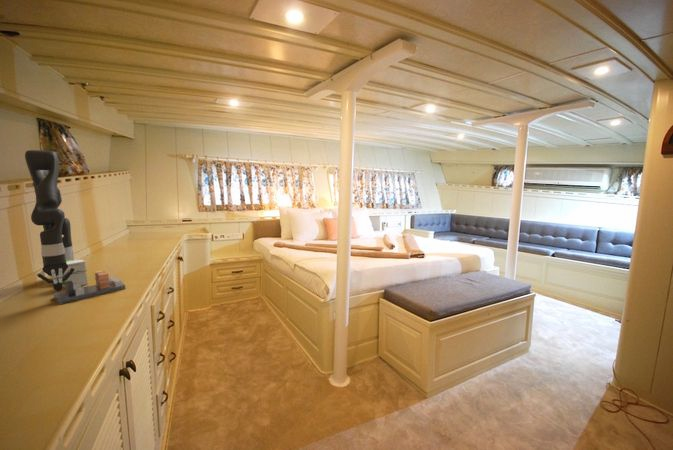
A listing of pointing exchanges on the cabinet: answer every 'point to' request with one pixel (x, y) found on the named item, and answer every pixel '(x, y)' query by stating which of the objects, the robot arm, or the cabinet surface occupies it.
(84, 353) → the cabinet surface
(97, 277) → the block
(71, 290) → the sliding jaw
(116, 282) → the vise
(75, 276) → the supplement box
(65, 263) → the robot arm
